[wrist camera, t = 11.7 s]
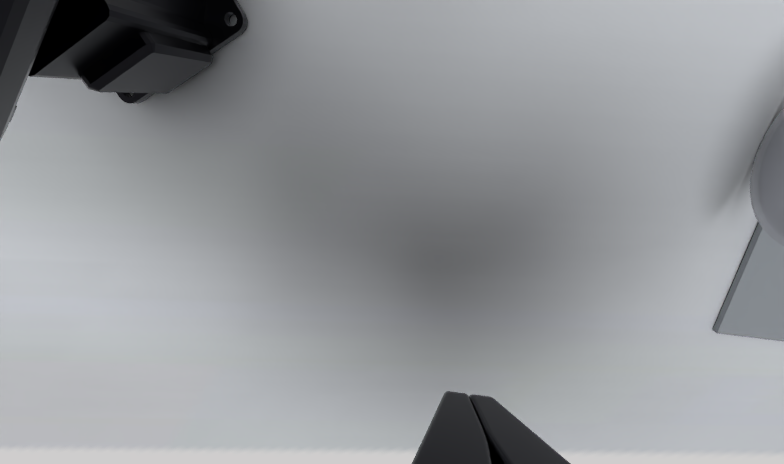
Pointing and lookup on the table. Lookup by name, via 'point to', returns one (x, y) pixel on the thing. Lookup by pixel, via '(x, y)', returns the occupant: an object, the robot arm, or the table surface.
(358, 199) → the table surface
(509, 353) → the table surface
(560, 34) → the table surface
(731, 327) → the placemat
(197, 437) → the table surface
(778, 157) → the wine glass
